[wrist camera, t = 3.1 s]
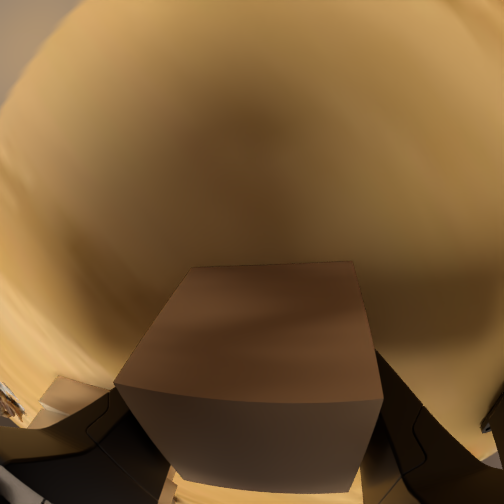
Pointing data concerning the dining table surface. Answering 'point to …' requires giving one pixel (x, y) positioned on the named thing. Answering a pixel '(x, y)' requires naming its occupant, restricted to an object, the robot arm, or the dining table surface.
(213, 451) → the walnut cube
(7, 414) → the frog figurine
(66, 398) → the beech slab lower
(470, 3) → the dining table surface
